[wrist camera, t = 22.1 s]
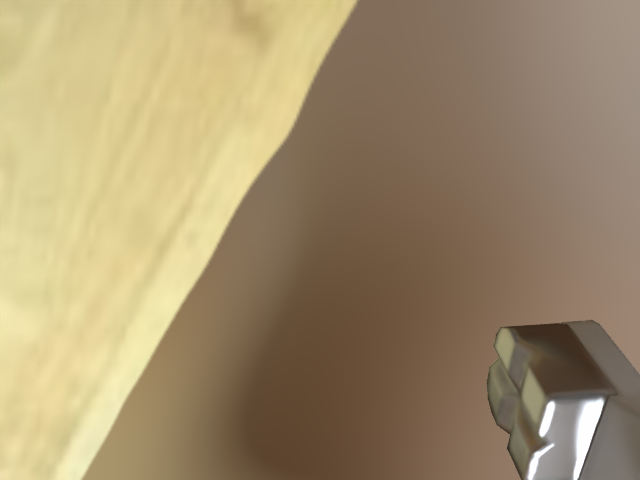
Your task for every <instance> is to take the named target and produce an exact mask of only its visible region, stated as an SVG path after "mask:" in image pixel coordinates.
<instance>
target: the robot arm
mask: <svg viewBox="0 0 640 480" xmlns="http://www.w3.org/2000/svg"><path fill="white" fill-rule="evenodd" d="M494 348H495V350H496V352H497V354H498V356H499V358H498V359H497V360H496V361H495V362H494V363H493V364H492V365H491V366H490V367H489V373H488V379H487V392H488V401H489V405H490V409H491V412H492V415H493V417H494V419H495V422H496V424H497V426H499V427H500V428H502V429H503V430H504V431H506V432H507V433H508V434H510V438H509V442H508V447H507V449H508V451H509V454H510V456H511V458H512V460H513V462H514V465H515V467H516V469H517V471H518V473H519V475H520V478H521V480H640V374H639V373H638V372H637V371H636V369H635V368H634V367H633V366H632V364H631V363H630V362H629V360H628V359H627V358H626V357H625V355H624V354H623V353H622V352H621V350H620V349H619V348H618V347H617V345H616V344H615V343H614V341H613V340H612V339H611V338H610V336H609V335H608V334H607V333H606V331H605V330H604V329H603V328H602V326H601V325H600V324H599V323H597V322H595V321H593V320H586V321H573V322H562V323H561V324H560V323H555V324H540V325H525V326H511V327H500V329H499V331H498V332H497V334H496V338H495V343H494Z"/></svg>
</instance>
